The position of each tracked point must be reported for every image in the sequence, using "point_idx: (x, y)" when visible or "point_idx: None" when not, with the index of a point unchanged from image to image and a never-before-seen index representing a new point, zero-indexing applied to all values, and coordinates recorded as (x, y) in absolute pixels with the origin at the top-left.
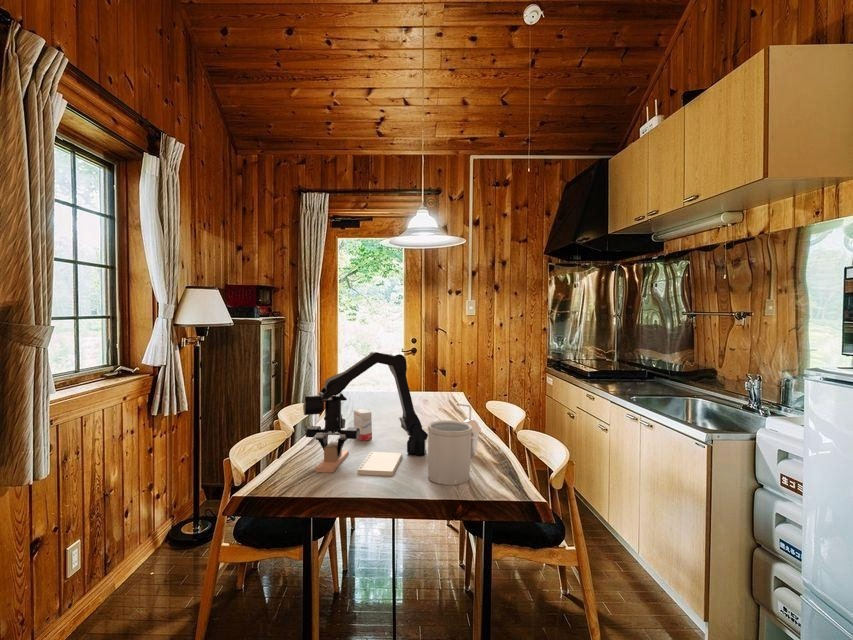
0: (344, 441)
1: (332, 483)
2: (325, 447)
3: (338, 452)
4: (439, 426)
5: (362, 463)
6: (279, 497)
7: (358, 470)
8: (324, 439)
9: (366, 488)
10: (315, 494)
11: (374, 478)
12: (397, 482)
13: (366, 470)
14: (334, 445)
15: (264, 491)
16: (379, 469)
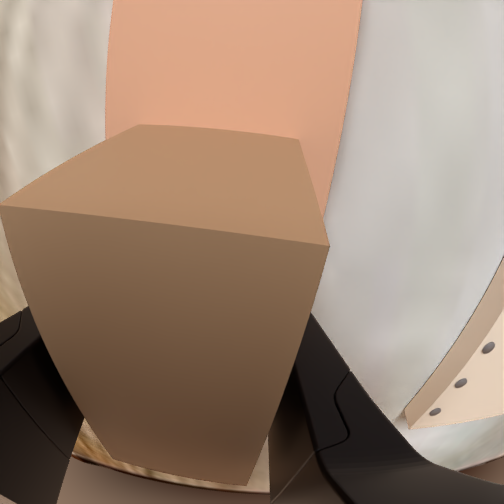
0: (399, 457)
1: None
2: (121, 458)
3: None
4: None
5: (470, 360)
6: (154, 479)
7: (412, 425)
8: (36, 489)
9: None
10: (243, 487)
11: None
12: (500, 425)
13: (447, 423)
14: (202, 441)
15: (94, 453)
16: (501, 406)
